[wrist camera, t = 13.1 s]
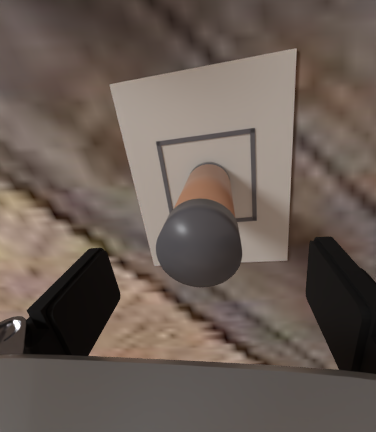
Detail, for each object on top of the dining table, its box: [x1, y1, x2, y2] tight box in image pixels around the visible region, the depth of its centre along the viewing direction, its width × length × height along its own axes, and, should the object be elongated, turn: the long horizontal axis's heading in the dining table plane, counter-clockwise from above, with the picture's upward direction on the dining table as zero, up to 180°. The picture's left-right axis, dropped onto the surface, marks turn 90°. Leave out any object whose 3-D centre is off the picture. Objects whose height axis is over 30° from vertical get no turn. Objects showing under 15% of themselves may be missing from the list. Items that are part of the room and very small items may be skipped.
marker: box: [156, 162, 242, 287], centre depth 16 cm, size 4×4×12 cm
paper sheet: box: [110, 48, 297, 266], centre depth 22 cm, size 15×19×1 cm
